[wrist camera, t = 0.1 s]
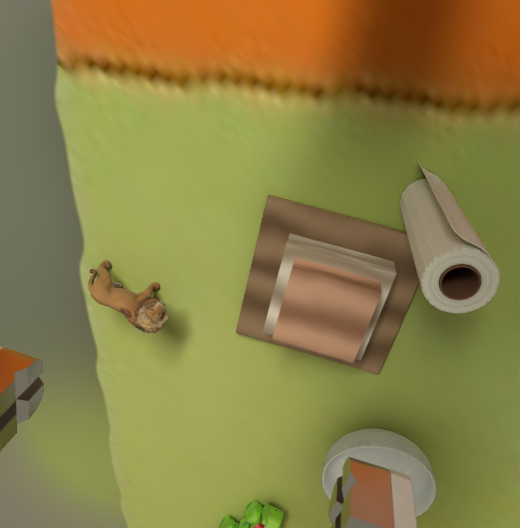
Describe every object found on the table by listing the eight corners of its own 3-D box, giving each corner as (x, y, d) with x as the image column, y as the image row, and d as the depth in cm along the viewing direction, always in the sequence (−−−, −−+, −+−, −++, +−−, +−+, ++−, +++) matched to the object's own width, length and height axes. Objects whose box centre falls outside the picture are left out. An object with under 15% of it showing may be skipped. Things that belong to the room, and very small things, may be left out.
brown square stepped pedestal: (268, 194, 59) (257, 214, 52) (435, 239, 57) (445, 265, 51) (237, 328, 69) (224, 358, 63) (378, 369, 68) (380, 405, 61)
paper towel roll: (436, 231, 57) (476, 325, 38) (390, 214, 57) (408, 299, 38) (465, 178, 53) (525, 253, 35) (417, 160, 54) (451, 225, 35)
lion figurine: (184, 283, 67) (162, 315, 60) (179, 312, 70) (156, 346, 62) (92, 254, 68) (58, 282, 60) (90, 284, 71) (57, 314, 63)
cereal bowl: (436, 418, 70) (444, 456, 63) (423, 492, 77) (429, 532, 71) (325, 406, 73) (322, 440, 67) (322, 478, 80) (319, 515, 74)
